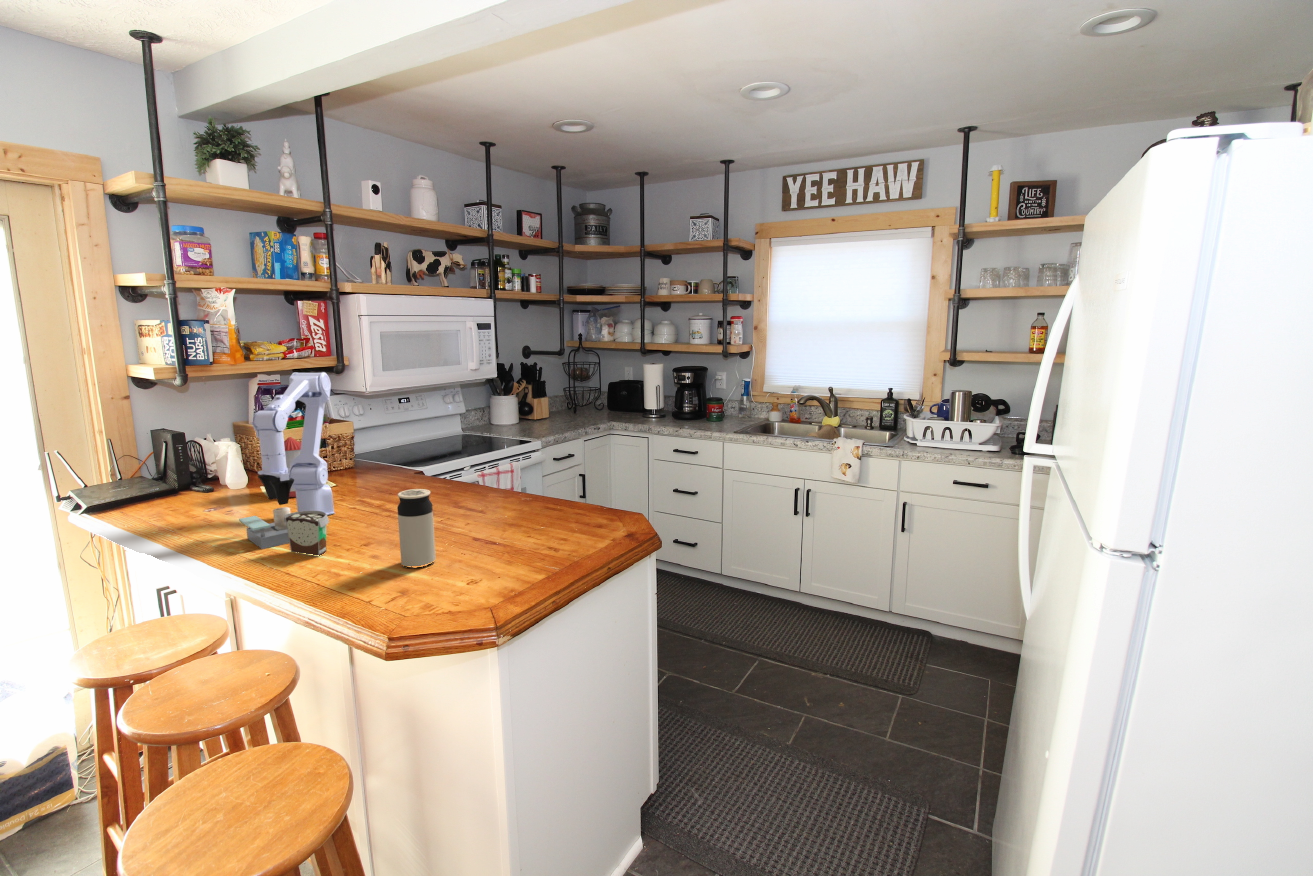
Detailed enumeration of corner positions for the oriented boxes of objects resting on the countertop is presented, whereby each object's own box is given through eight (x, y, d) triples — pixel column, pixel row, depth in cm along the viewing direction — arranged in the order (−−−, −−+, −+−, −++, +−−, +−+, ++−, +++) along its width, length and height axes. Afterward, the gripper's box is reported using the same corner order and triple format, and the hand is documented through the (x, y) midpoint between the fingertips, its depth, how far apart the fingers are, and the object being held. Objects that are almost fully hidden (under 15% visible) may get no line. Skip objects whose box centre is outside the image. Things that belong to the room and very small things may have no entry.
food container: (342, 549, 166) (339, 512, 164) (323, 557, 161) (320, 519, 159) (306, 544, 170) (303, 508, 168) (286, 551, 164) (282, 514, 163)
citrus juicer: (253, 500, 211) (247, 441, 208) (291, 487, 228) (286, 432, 225) (295, 502, 209) (289, 442, 205) (330, 489, 226) (325, 433, 222)
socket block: (295, 528, 183) (293, 508, 182) (311, 538, 175) (309, 517, 174) (241, 540, 173) (238, 518, 172) (255, 550, 165) (253, 528, 164)
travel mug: (415, 571, 152) (410, 498, 148) (394, 564, 156) (389, 494, 153) (442, 561, 158) (438, 491, 155) (421, 555, 162) (417, 486, 159)
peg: (290, 534, 178) (287, 506, 177) (294, 537, 175) (291, 509, 174) (274, 537, 175) (271, 509, 174) (278, 540, 173) (275, 512, 171)
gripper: (247, 452, 176) (253, 499, 179) (266, 460, 167) (271, 509, 169) (275, 448, 181) (280, 494, 184) (295, 455, 172) (300, 504, 174)
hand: (278, 501), depth 177 cm, fingers open, 7 cm apart
